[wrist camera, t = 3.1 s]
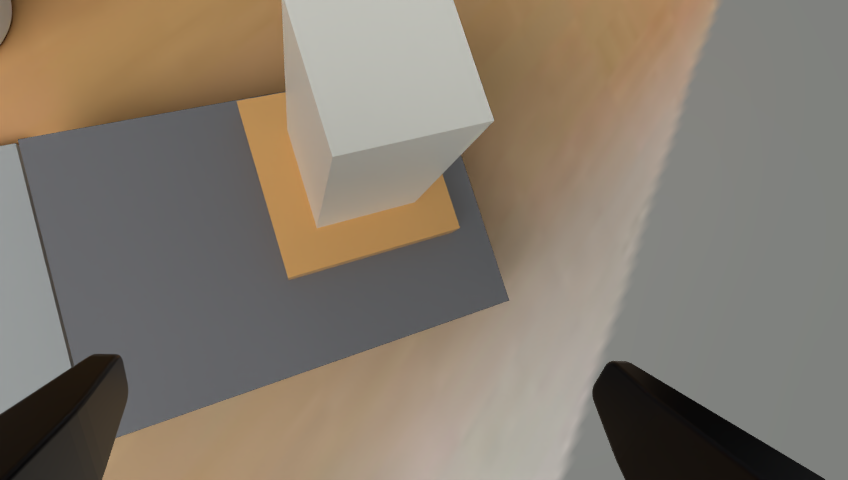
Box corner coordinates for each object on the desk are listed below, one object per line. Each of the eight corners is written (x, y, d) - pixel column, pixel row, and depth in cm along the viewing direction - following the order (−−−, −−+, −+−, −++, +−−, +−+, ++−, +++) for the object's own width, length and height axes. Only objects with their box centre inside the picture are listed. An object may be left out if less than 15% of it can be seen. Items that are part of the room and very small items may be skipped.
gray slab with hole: (483, 303, 24) (509, 300, 21) (124, 427, 19) (94, 445, 16) (415, 95, 25) (431, 65, 22) (57, 166, 20) (17, 139, 17)
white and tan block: (434, 242, 24) (566, 165, 12) (289, 285, 21) (282, 240, 10) (391, 108, 24) (477, -88, 13) (246, 137, 22) (192, -64, 11)
